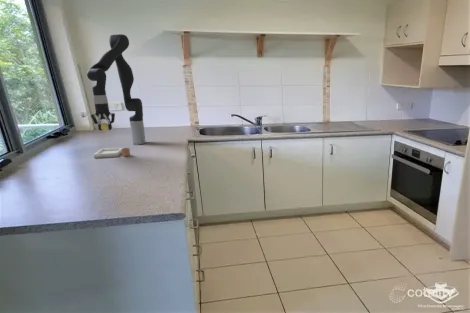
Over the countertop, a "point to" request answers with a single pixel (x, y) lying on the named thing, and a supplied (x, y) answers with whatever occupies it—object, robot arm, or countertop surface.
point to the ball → (104, 126)
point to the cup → (125, 152)
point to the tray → (108, 152)
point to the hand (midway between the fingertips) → (105, 130)
